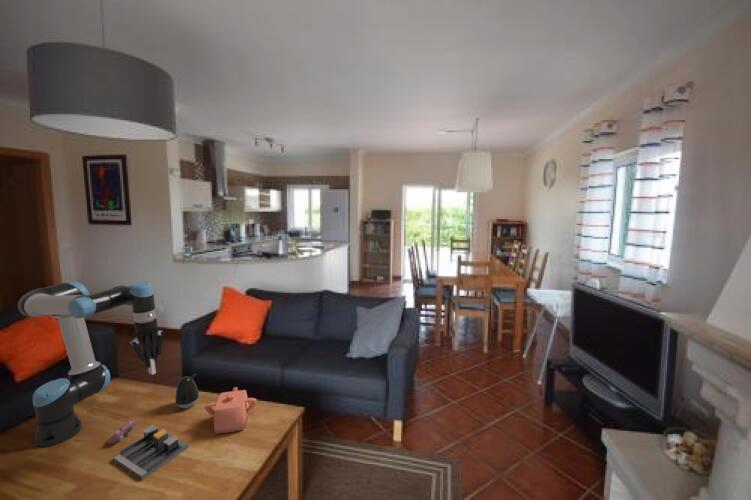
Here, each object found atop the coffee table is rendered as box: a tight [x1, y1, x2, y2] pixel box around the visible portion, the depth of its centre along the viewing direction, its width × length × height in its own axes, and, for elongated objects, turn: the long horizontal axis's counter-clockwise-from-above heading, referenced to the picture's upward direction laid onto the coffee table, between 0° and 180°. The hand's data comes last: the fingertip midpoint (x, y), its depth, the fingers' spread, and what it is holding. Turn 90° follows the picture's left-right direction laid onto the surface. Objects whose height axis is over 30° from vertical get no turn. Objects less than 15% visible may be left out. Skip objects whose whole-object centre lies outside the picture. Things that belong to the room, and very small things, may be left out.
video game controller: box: [107, 421, 137, 445], centre depth 145 cm, size 10×5×7 cm, turn 169°
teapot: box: [204, 386, 257, 435], centre depth 156 cm, size 20×22×14 cm
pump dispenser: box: [174, 373, 200, 409], centre depth 166 cm, size 10×10×15 cm
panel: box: [112, 424, 189, 481], centre depth 135 cm, size 20×18×6 cm
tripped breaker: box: [153, 428, 169, 448], centre depth 139 cm, size 3×4×5 cm
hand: (152, 373), depth 142 cm, fingers closed
